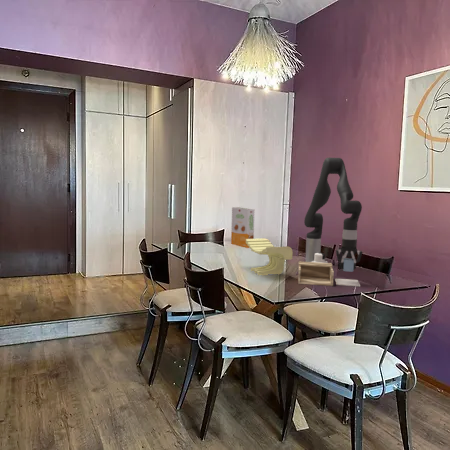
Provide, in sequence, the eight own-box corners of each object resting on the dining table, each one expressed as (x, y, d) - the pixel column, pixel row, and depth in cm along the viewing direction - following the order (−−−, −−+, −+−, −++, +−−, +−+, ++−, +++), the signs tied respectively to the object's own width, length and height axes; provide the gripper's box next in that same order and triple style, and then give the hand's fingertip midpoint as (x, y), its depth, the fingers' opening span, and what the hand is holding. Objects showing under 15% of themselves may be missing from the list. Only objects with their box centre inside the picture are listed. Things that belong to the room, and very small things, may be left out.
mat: (334, 279, 234) (334, 278, 234) (357, 280, 232) (357, 279, 232) (336, 285, 222) (336, 283, 222) (360, 286, 220) (360, 285, 220)
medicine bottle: (316, 271, 254) (317, 251, 253) (327, 273, 250) (328, 253, 248) (310, 273, 249) (311, 253, 247) (321, 275, 244) (322, 254, 243)
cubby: (298, 275, 241) (298, 261, 240) (330, 277, 238) (331, 263, 237) (298, 283, 223) (298, 268, 222) (333, 286, 220) (333, 270, 219)
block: (342, 269, 229) (343, 258, 228) (352, 269, 228) (352, 258, 227) (343, 271, 224) (344, 260, 223) (353, 271, 223) (354, 260, 223)
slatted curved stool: (291, 277, 237) (292, 246, 235) (265, 279, 232) (266, 247, 229) (268, 266, 265) (269, 238, 263) (245, 267, 260) (245, 238, 258)
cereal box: (253, 247, 332) (254, 209, 329) (246, 248, 329) (247, 209, 325) (237, 243, 351) (238, 207, 347) (231, 243, 348) (232, 207, 344)
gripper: (362, 237, 227) (360, 268, 229) (335, 236, 229) (333, 267, 231) (364, 239, 219) (362, 271, 221) (336, 238, 222) (334, 270, 224)
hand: (347, 269), depth 226 cm, fingers closed on block, 5 cm apart
